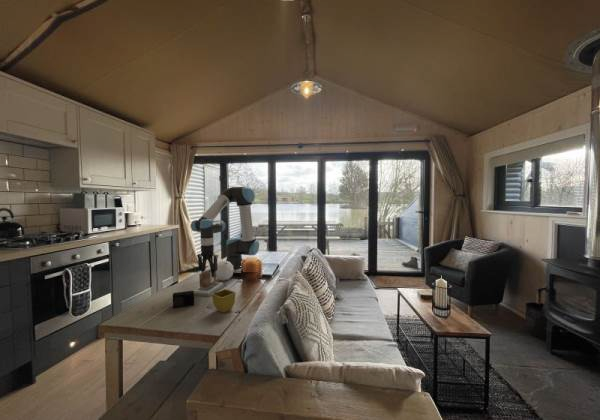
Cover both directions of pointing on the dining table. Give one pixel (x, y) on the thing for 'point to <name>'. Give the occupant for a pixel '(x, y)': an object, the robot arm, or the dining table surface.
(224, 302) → the flower pot
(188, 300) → the digital camera
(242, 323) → the dining table surface
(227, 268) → the geodesic sphere
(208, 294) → the grey flat frame
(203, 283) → the walnut block
